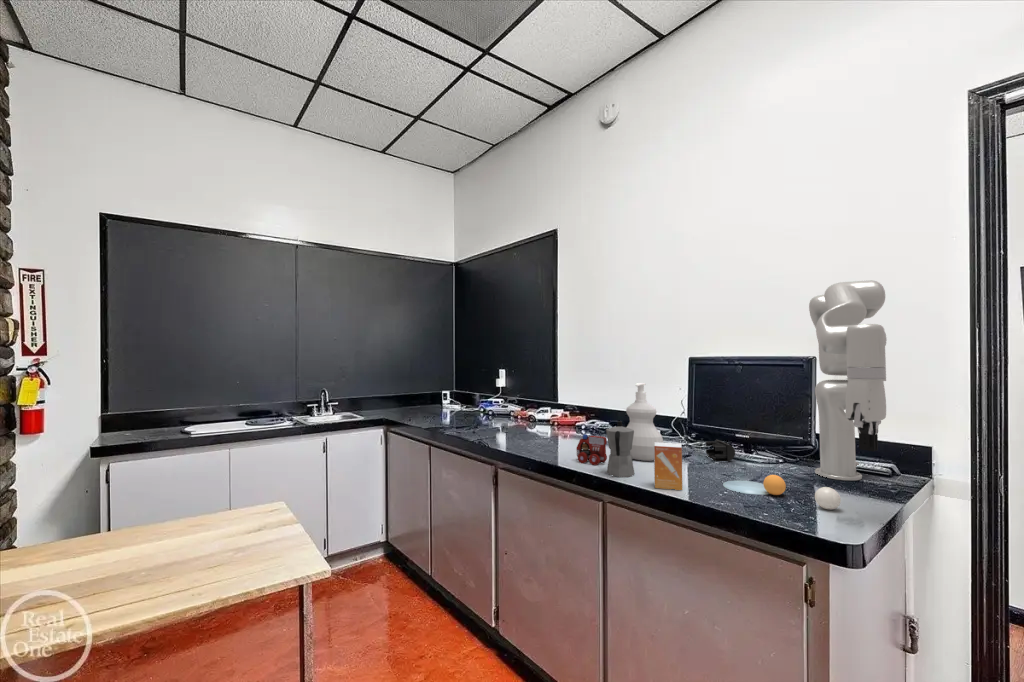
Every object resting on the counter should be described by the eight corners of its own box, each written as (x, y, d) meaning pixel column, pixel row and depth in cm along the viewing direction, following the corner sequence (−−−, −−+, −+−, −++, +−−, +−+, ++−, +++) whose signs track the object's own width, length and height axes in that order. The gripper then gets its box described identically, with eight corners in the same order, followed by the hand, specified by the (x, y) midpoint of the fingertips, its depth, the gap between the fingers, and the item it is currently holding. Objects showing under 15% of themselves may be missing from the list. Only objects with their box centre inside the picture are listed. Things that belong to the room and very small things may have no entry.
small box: (654, 488, 137) (653, 445, 138) (654, 483, 143) (653, 441, 144) (683, 491, 135) (682, 447, 135) (681, 485, 141) (681, 442, 141)
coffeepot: (609, 468, 162) (608, 417, 163) (636, 470, 159) (635, 418, 160) (602, 479, 148) (602, 424, 148) (632, 482, 144) (631, 425, 145)
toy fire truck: (582, 458, 178) (582, 431, 178) (611, 463, 170) (610, 435, 170) (572, 461, 172) (572, 434, 173) (601, 467, 164) (601, 438, 165)
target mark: (741, 478, 147) (741, 478, 147) (785, 490, 135) (785, 489, 135) (713, 485, 140) (713, 484, 140) (756, 497, 128) (756, 496, 128)
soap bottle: (615, 458, 177) (614, 383, 177) (627, 453, 186) (626, 381, 186) (657, 464, 166) (656, 384, 167) (668, 459, 175) (667, 382, 176)
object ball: (770, 490, 134) (770, 471, 134) (790, 495, 129) (789, 476, 129) (759, 493, 132) (758, 474, 132) (778, 498, 127) (778, 478, 127)
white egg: (822, 504, 122) (821, 483, 122) (845, 510, 117) (844, 488, 117) (810, 507, 119) (810, 486, 119) (834, 514, 114) (833, 491, 115)
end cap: (735, 462, 169) (735, 444, 169) (716, 462, 169) (716, 444, 169) (723, 456, 179) (723, 439, 179) (705, 456, 179) (705, 439, 179)
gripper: (863, 373, 118) (865, 444, 117) (833, 375, 110) (835, 450, 110) (899, 374, 111) (901, 449, 111) (869, 376, 104) (871, 456, 103)
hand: (868, 449), depth 110 cm, fingers closed
